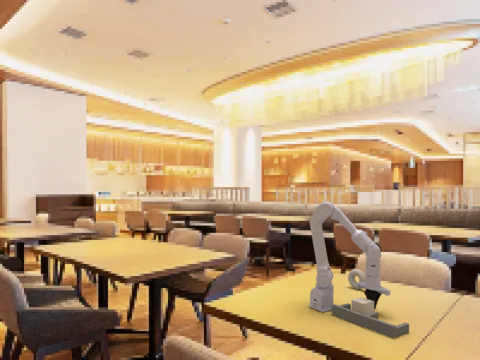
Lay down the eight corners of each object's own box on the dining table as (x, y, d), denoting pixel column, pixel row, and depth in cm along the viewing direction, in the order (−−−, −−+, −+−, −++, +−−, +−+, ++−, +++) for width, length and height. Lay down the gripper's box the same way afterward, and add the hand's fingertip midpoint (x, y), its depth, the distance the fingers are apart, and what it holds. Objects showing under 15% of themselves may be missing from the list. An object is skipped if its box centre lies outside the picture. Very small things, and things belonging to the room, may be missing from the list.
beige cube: (351, 315, 149) (351, 299, 149) (361, 312, 152) (361, 297, 152) (364, 319, 144) (364, 303, 144) (374, 316, 147) (374, 301, 147)
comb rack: (393, 338, 126) (393, 326, 126) (331, 315, 148) (332, 304, 148) (409, 332, 132) (409, 320, 132) (347, 310, 153) (347, 300, 153)
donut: (368, 291, 182) (368, 270, 182) (363, 292, 180) (363, 271, 180) (350, 286, 190) (351, 266, 190) (346, 287, 188) (346, 267, 188)
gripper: (395, 277, 148) (395, 312, 147) (364, 270, 160) (363, 302, 159) (384, 280, 144) (384, 315, 143) (353, 272, 156) (353, 305, 155)
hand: (372, 309), depth 151 cm, fingers closed
